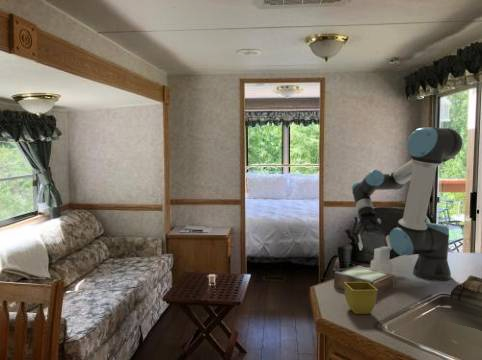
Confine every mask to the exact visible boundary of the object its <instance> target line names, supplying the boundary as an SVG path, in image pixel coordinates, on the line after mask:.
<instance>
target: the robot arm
mask: <svg viewBox="0 0 482 360" xmlns="http://www.w3.org/2000/svg"><path fill="white" fill-rule="evenodd" d="M406 145H407V146H406V147H407V149H408V150H407V151H408V154H410V160H409V161H407V162H406V163H405V164H404V165H402V166H400V167H399V168H397V169H396V170H394V171H393V172H391V173H383V172H382V171H380V170H377V169H372V170H370V171H369V172H368V173H367V174H366V175H365V176H364V178H363V179H362V180H361V181H357V182H355V183H354V184H352V186H351V191H352V193H351V194H352V195H353V199H354V202H355V207H356V210H357V215H358V217H356V216H355V217H354V219H353V220H352V221H353V224H352V227H351V231H350V233H349V236H350V237H353V239H354V240H355V244H357V245H358V248H359V251H362V250H363V248H364V245H363V242H362V238H361V235H360V233H361V231H362V230H363V229H364V228H366V229H367V228H368V229H369V228H370V229H375V230H377V231H379V232H380V233H381V234H382V235H383V236H384V237H385V242H386V244H387V247H390V251H392V250H393V251H394V252H395V253H397V254H398V255H400V256H413V255H418V256H417V259H416V260H415V264H414V265H413V268H412V270H413V271H412V273H413V275H414V276H415V277H418V278H421V279H424V280H429V281H440V282H441V281H443V282H444V281H448V280H451V279H452V277H451V275H452V273H451V268H450V265H449V262H448V256H449V254H448V253H449V240H450V228H449V227H448V226H447V225H443V224H438V223H434V222H433V223H432V222H427V221H426V218H427V212H428V207H429V203H430V200H431V199H430V198H431V194H432V190H433V185H434V181H435V177H436V171H437V168H438V167H439V166H441V165H442V164H443V163H446V162H448V161H450V160H451V159H453V158H454V157H456V156H457V155H459V153H460V152H461V151H462V148H463V138H462V136H461V135H460V133H459V131H456V130H455V129H452V128H450V127H449V128H448V127H447V128H446V127H445V128H443V127H442V128H441V127H431V126H430V127H429V126H427V127H420V128H416V129H415V130H414V131H413V132H411V134H410V135H409V137H408V140H407V143H406ZM409 181H410V182H409ZM408 182H409V186H408V191H407V196H406V202H405V207H404V211H403V216H402V218H400V219H399V220H398V222H397V226H396V227H394V228H391V227H390V226H389V225H388V224H387V223H386V221H385V220H384V218H383V216H382V217H380V218H377V217H376V213H375V210H374V205H373V201H372V199H371V196H372V195H373V194H374V193H375V191H377V190H379V191H381V190H382V191H383V190H387V191H388V190H389V191H390V190H402V189H404V188H405V186H406V185H407V183H408ZM359 223H360V224H361V225H360V227H358V229H357V230H356V228H357V225H358V224H359ZM355 230H356V231H355Z"/></svg>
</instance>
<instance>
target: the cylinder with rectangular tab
mask: <svg viewBox="0 0 482 360" xmlns="http://www.w3.org/2000/svg"><path fill="white" fill-rule="evenodd" d="M390 255H391V250H390V247H388V246H384V245H383V246H380V247H378V248H377V247H376V248H374V252H373V259H371V260H370V269H374V270H378V271H382V272H386V273H390V274H393V262H392V261H391V260H390V259H391V258H390V257H391V256H390Z"/></svg>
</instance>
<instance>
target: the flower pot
mask: <svg viewBox="0 0 482 360" xmlns="http://www.w3.org/2000/svg"><path fill="white" fill-rule="evenodd" d="M344 286H345V290H344V295H345V296H344V297H345V300H346V303H347V305H348V308H349V309H350V310H351V311H352V313H354V314H355V315H369V314H370V313H371V312H372V311H373V309H374V308H375V306H376V303H377V296H378V295H377V292H378V290H377V289H376V288H375V287H373V286H372V285H371V284H370V283H369V282H344Z"/></svg>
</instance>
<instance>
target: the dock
mask: <svg viewBox="0 0 482 360" xmlns="http://www.w3.org/2000/svg"><path fill="white" fill-rule="evenodd" d="M333 273H334V277H333V287H334V288H336V289H340V290H344V291H345V286H344V282H369V283H370V284H371V285H372V286H373V287H375V288H376V289H377V290H378V292H377V296H378V295H380V294H383V293H384V292H386V291H388V290H390V289H393V288H394V287H395V274H394V273H392V274H390V273H386V272H382V271H378V270H374V269H371V268H369V267H364V266H361V265H358V266H357V265H356V266H355V267H352V268H349V269H346V270H343V271H334V272H333Z"/></svg>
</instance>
